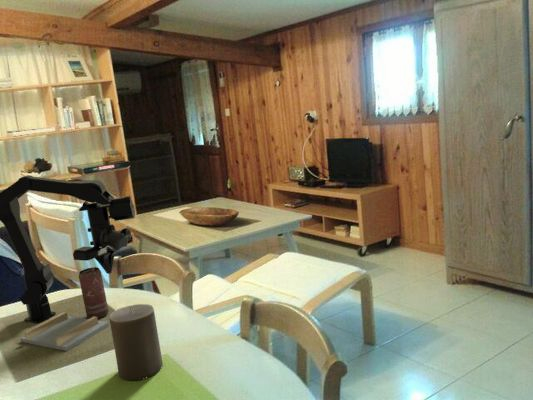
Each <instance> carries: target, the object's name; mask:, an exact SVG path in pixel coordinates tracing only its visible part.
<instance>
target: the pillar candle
mask: <svg viewBox="0 0 533 400" xmlns="http://www.w3.org/2000/svg"><path fill="white" fill-rule="evenodd" d="M109 326H110V331H111V336H112V337H111V338H112V342H113V348H114V353H115V359H116V364H117V365H116V367H117V372H118V376H119V378H121V379H122V380H124V381H125V380H126V381H139V380H140V381H141V380H144V379H143V378H146V377H148V378H150V377H152V376H154V375H156V374H157V373H159V372H160V371H161V370H162V368H163V367H164V366H163V365H164V363H163V358H162V351H161V345H160V339H159V333H158V326H157V321H156V315H155V308H154V306H153V305H151V304H146V303H145V304H143V303H140V304H139V303H138V304H132V305H128V306H124V307H120V308H117V309H116V310H115V311H113V312H111V314H110V315H109ZM161 367H162V368H161ZM160 369H161V370H160ZM159 370H160V371H159ZM158 371H159V372H158ZM149 376H150V377H149ZM146 379H147V378H146Z"/></svg>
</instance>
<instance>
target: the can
mask: <svg viewBox="0 0 533 400" xmlns="http://www.w3.org/2000/svg"><path fill="white" fill-rule="evenodd" d="M78 273H79V274H78V279H79V285H80V290H81V294H82V295H81V296H82V301H83V305H84V309H85V314H86V317H87V319H90V318H92V317H94V316H95V317H97V319H98V320H101V319H103V318H105V317H106V316H107V315H108V314H109V306H108V305H109V304H108V301H107V295H106V290H105V285H104V281H103V276H102V271H101V269H100V267H96V266H94V267H89V268H84V269H82V270H81V271H79V272H78Z"/></svg>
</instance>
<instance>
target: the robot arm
mask: <svg viewBox="0 0 533 400" xmlns="http://www.w3.org/2000/svg"><path fill="white" fill-rule="evenodd" d="M29 191H31V192H38V193H48V194H56V195H64V196H70V197H73V198H75V199H77V200H80V201H84V202H83V203H82V205H81V206H80V208H79V209H78V210H79V212H84V211H86V213H87V218H88V222H89V223H88V224H89V227H87V232H88V233H91V241H89V244H90V246H82V247H79V248H76V249H74V250H73V252H72V256H73V260H74V261H90V260H93V259H95V260H96V261H97V263H98V265H100V266H101V267H102V269H103V270H104V272H105V273H106V274H112V271H113V265H114V259H115V255H116V254H117V253H118V252H119V251H120V250H121V249H122V248H125V247H127V246H128V244H130V243H133V242H134V239H133V235H132V233H131V229H130V228H129V227H124V228H123V229H121V230H116V228H115V227H116V226H115V224H113V223H112V224H111V221H110V219H111V220H113V221H114V222H118V221H124V220H133V219H135V218H136V211H135V210H136V209H135V205H134V203H133V200H132V196H131V195H126V196H124V197H123V196H122V197H114V196H113V195H112V194H111V193H110V192H109V191H108V190H106V186H105V185H104V183H103V182H102V181H100V180H99V179H98V180H97V179H87V180H76V181H74V180H73V181H71V180H63V179H55V178H53V179H52V178H46V177H39V176H33V175H29V174H28V175H27V174H26V175H23V176H21V177H20V178H18V179H17V180H16V181H15V182H14V183H12V184H11V185H10V186H8V187H6V188H5V189H2V190H0V222H1V224H3V225H4V228H5V230H6V231H7V234H8V237H9V239H10V241H11V243H12V246H13V247H14V250H15V252H16V254H17V256H18V259H19V261H20V264H21V266H22V267H23V279H24V280H23V281H24V285H25V288H26V290H25V291H24V293H23V294H22V295H21V296H20V299H19V300H20V302H21V303H22V305H26V306H25V307H26V310H27V315H28V316H27V317H26V318H24V321H25V322H30V323H37V324H39V323H42V322H43V321H45V320H47V319H48V318H50V317H51V318H52V317H53V316H54V315H56V314H57V313H56V312H55V311H52V309H51V303H50V301H49V298H48V296H47V294H48V293H49V289H50V288H51V286H53V283H54V276H55V274H54V273H53V271H52V269H51V265H50V264H49V263H47V264H43V263H42V261H40V259H39V257H38V255H37V252H36V250H35V248H34V246H33V243H32V241H31V239H30V237H29V235H28V232H27V230H26V228H25V225H24V224H23V221H22V219H21V206H20V202H19V199H20V198H21V197H23V196H24V195H25V194H26V193H28V192H29Z"/></svg>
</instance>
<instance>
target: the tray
mask: <svg viewBox="0 0 533 400" xmlns="http://www.w3.org/2000/svg"><path fill="white" fill-rule="evenodd" d="M109 326H110V321H103V320H99V319H97V317H95V316H94V317H92V318H90V319H89V318H83V317H76V316H70V315H68V312H67V311H66V312H65V311H63V312H61V313H60V314H58V315H56V316H54V317H53V316H52V317H51V318H50V319H48V320H46V321H44V322H41V323H40V324H38V325H36V326H34V327H33V328H30V329H28V330H26V331H24V332H23V333H24V336H22V337H20V343H24V344H30V345H34V346H39V347H40V346H41V347H44V348H51V349H57V350H60V351H65V352H67V351H69V350H71V349H73V348H74V347H75V346H77V345H79V344H81V343H82V342H84V341H85V340H87V339H89V338H91V337H92V336H94V335H95V334H98V333H99V332H101V331H103V330H104V329H106V328H108V327H109Z"/></svg>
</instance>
